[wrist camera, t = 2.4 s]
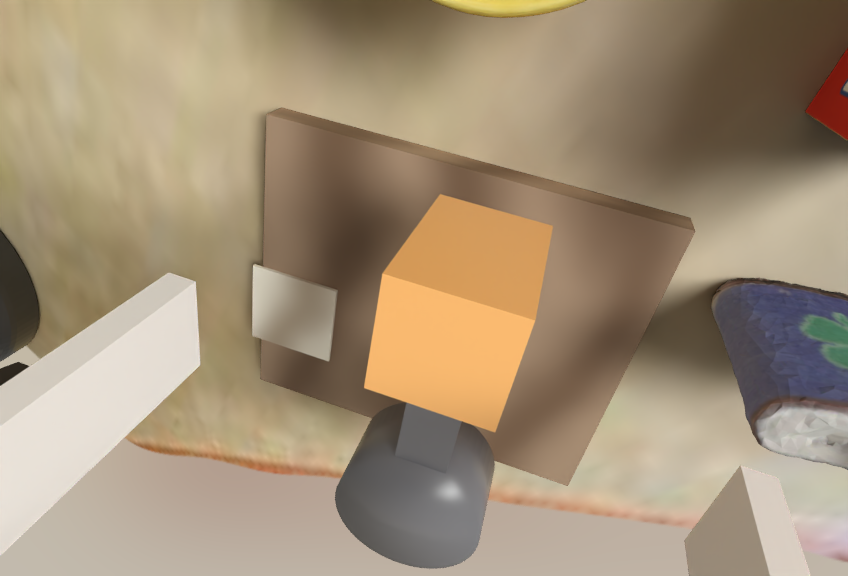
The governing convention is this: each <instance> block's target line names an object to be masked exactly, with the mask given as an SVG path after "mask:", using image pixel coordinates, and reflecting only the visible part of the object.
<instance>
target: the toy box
mask: <svg viewBox="0 0 848 576" xmlns="http://www.w3.org/2000/svg"><path fill="white" fill-rule="evenodd" d="M805 113H807V114H808V115H810V116H811V117H813V118H814V119H816V120H817V121H819V122H820V123H822V124H823V125H825V126H826V127H828V128H829V129H830V130H832V131H833V132H835V133H836V134H838V135H839V136H841V137H842V138H844V139H845V140H847V141H848V48H847V50H846V51H845V53H844V54H843V56H842V57H841V59H840V60H839V62H838V63H837V65H836V66H835V68H834V69H833V71H832V72H831V74H830V75H829V77H828V78H827V80H826V81H825V83H824V84H823V86H822V87H821V89H820V90H819V92H818V93H817V94H816V96H815V97H814V99H813V100H812V102H811V103H810V105H809V106H808V108H807V109H806V112H805Z"/></svg>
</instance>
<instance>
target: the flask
mask: <svg viewBox="0 0 848 576" xmlns="http://www.w3.org/2000/svg"><path fill="white" fill-rule="evenodd" d="M719 290H720V291H719ZM717 291H719V292H717ZM717 291H716V293H715V295H714V296H713V298H712V304H711V309H712V312H713V315H714V319H715V321H716V323H717V325H718V327H719V330H720V333H721V335H722V338H723V341H724V344H725V347H726V351H727V353H728V356H729V358H730V361H731V363H732V366H733V370H734V374H735V376H736V378H737V382H738V385H739V388H740V392H741V395H742V397H743V401H744V405H745V414H746V418H747V420H748V422H749V424H750V427H751V430H752V433H753V435H754V436H755V438H756V440H757V442H758V444H760V445H761V446H763V447H764V448H766V449H768V450H770V451H773V452H775V453H778V454H782V455H785V456H790V457H797V458H802V459H806V460H809V461H813V462H820V463H827V464H830V465H833V466H838V467H842V468H845V469H847V470H848V295H846V294H843V293H842V294H841V293H833V292H828V291H824V290H821V289H816V288H809V287H805V286H800V285H797V284H794V285H793V284H788V283H784V282H780V281H770V280H767V279H760V278H758V279H755V278H752V279H746V278H744V279H742V278H741V279H737V280H729V281H728V282H726V283H725V284H723V285H721V286H720V287H719V288H718V289H717Z"/></svg>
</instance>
